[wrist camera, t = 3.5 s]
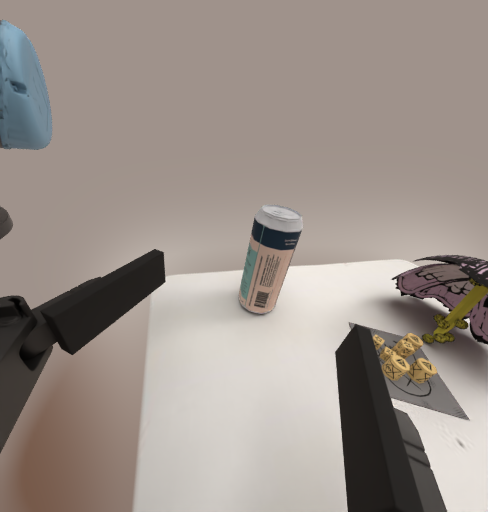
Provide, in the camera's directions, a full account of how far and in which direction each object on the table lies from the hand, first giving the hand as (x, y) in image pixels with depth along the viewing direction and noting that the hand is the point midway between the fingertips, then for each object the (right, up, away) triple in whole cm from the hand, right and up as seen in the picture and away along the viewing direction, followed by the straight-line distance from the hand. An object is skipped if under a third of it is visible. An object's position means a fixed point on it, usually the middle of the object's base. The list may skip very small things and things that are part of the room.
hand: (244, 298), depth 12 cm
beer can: (+1, -3, +11) cm, 12 cm away
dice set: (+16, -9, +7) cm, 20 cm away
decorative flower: (+26, -7, +13) cm, 30 cm away
